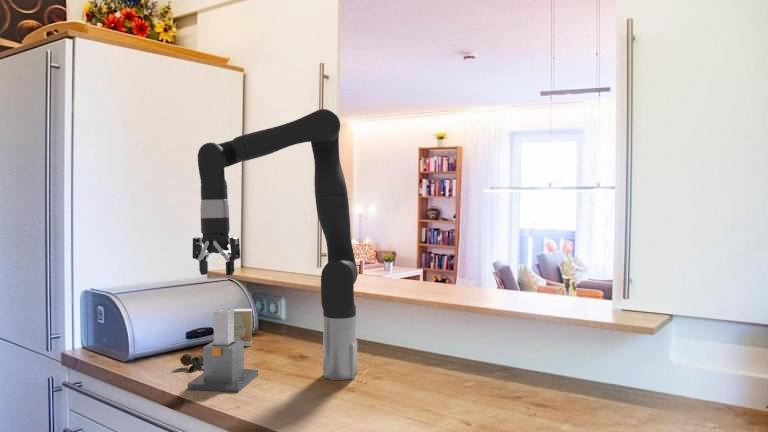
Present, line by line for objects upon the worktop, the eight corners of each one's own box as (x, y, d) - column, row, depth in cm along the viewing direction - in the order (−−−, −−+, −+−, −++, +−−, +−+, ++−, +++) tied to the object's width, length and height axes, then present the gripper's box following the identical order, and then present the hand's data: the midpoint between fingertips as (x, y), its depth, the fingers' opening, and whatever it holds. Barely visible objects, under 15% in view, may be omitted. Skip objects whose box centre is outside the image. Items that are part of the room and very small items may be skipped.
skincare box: (232, 347, 185) (232, 311, 185) (233, 343, 190) (233, 308, 189) (251, 346, 187) (251, 310, 186) (252, 342, 191) (252, 308, 190)
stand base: (258, 375, 156) (257, 338, 156) (238, 392, 142) (238, 351, 142) (211, 372, 158) (211, 336, 158) (187, 389, 144) (187, 349, 144)
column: (234, 374, 152) (233, 309, 151) (228, 378, 148) (227, 312, 147) (220, 373, 152) (220, 309, 152) (214, 378, 148) (213, 311, 148)
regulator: (231, 371, 163) (188, 358, 167) (231, 360, 161) (188, 347, 165) (216, 386, 156) (172, 373, 160) (216, 375, 154) (171, 362, 158)
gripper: (244, 215, 152) (246, 273, 152) (203, 216, 157) (204, 272, 158) (227, 216, 145) (229, 277, 145) (184, 217, 150) (186, 276, 151)
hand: (216, 274), depth 151 cm, fingers open, 8 cm apart
